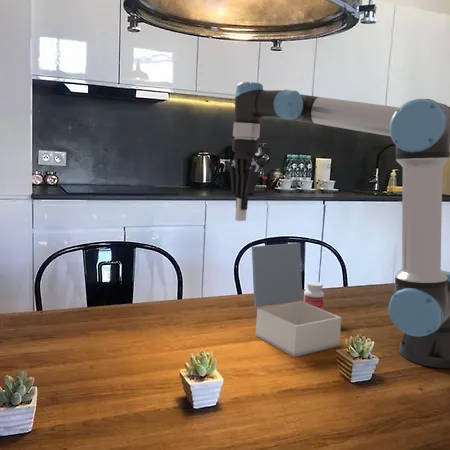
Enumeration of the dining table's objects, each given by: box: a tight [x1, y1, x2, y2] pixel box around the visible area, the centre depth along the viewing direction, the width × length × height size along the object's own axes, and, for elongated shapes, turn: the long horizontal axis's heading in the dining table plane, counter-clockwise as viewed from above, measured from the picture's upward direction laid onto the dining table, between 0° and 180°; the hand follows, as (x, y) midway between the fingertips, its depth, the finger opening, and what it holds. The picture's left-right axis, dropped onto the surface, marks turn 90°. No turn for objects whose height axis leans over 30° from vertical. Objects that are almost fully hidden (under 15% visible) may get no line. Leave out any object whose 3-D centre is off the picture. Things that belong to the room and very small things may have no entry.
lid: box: [251, 242, 303, 308], centre depth 151 cm, size 16×17×2 cm
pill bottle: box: [302, 281, 325, 310], centre depth 163 cm, size 6×6×11 cm
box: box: [255, 300, 342, 358], centre depth 144 cm, size 16×16×8 cm
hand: (240, 220), depth 155 cm, fingers closed
